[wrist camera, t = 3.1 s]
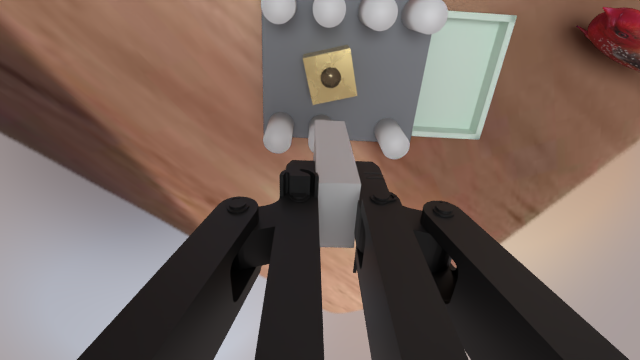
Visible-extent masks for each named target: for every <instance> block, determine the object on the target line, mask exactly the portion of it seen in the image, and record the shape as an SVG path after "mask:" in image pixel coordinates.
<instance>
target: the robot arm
mask: <svg viewBox="0 0 640 360" xmlns="http://www.w3.org/2000/svg"><path fill="white" fill-rule="evenodd" d="M355 240H356V252H355V261H354V269H353V273H356V270H357V272H358V278H359V285H360V291H361V297H362V303H363V309H364V315H365V321H366V327H367V333H368V340H369V346H370V352H371V358H372V360H468V357H467V355H466V353H467V354H468V356H469V357H470V359H471V360H629V359H628V358H627V357H626V356H624V355H623V354H622V353H621V352H620V351H619V350H618V349H617V348H615V347H614V346H613V345H612V344H611V343H610V342H609V341H608V340H607V339H605V338H604V337H603V336H602V335H601V334H600V333H599V332H598V331H596V330H595V329H594V328H593V327H592V326H591V325H590V324H589V323H587V322H586V321H585V320H584V319H583V318H582V317H581V316H580V315H579V314H577V313H576V312H575V311H574V310H573V309H572V308H571V307H570V306H568V305H567V304H566V303H565V302H564V301H563V300H562V299H561V298H559V297H558V296H557V295H556V294H555V293H554V292H553V291H552V290H550V289H549V288H548V287H547V286H546V285H545V284H544V283H543V282H542V281H540V280H539V279H538V278H537V277H536V276H535V275H534V274H532V273H531V272H530V271H529V270H528V269H527V268H526V267H525V266H524V265H523V264H521V263H520V262H519V261H518V260H517V259H516V258H514V256H512V255H511V254H510V253H509V252H508V251H507V250H506V249H504V248H503V247H502V246H501V245H500V244H499V243H498V242H497V241H496V240H494V239H493V238H492V237H491V236H490V235H489V234H488V233H487V232H486V231H484V230H483V229H482V228H481V227H480V226H479V225H478V224H477V223H475V222H474V221H473V220H472V219H471V218H470V217H469V216H468V215H466V214H465V213H464V212H463V211H462V210H461V209H459V208H458V207H456V206H455V205H453V204H450V203H448V202H445V201H444V202H443V201H431V202H427V203H426V204H425V205H424V206H423V210H422V211H421V210H416V209H411V208H407V207H404V206H402V204H401V202H400V199H399V198H398V197H397V196H396V195H395V194H393V193H391V192H389V190H388V188H387V185H386V183H385V180H384V178H383V175H382V173H381V170H380V168H379V167H378V166H377V165H376V164H375V163H373V162H362V161H355V159H354V155H353V152H352V148H351V144H350V140H349V136H348V133H347V129H346V125H345V121H327V120H315V131H314V157H313V161H302V160H292V161H291V162H290V163H289V164H288V165H287V167H286V170H284V171H282V172H281V174H280V199H279V200H278V201H277V202H275V203H273V204H270V205H266V206H261V207H258V204H257V202H256V201H255V200H253V199H251V198H247V197H232V198H229V199H226V200H224V201H222V202H221V203H220V204H219V205H218V206H217V207H216V208H215V209H214V210H213V211H212V212H211V213H210V214H209V216H208V217H207V218H206V219H205V220H204V221H203V222H202V223H201V224H200V225H199V226H198V228H197V229H196V230H195V231H194V232H193V233H192V234H191V235H190V236H189V237H188V239H187V240H186V241H185V242H184V243H183V244H182V245H181V246H180V247H179V248H178V250H177V251H176V252H175V253H174V254H173V255H172V256H171V257H170V258H169V259H168V260H167V262H166V263H165V264H164V265H163V266H162V267H161V268H160V269H159V270H158V271H157V272H156V274H155V275H154V276H153V277H152V278H151V279H150V280H149V281H148V282H147V283H146V284H145V286H144V287H143V288H142V289H141V290H140V291H139V292H138V293H137V294H136V296H135V297H134V298H133V299H132V300H131V301H130V302H129V303H128V304H127V305H126V306H125V308H124V309H123V310H122V311H121V312H120V313H119V314H118V316H116V317H115V318H114V320H113V321H112V322H111V323H110V324H109V325H108V326H107V327H106V328H105V329H104V330H103V332H102V333H101V334H100V335H99V336H98V337H97V338H96V339H95V340H94V341H93V343H92V344H91V345H90V346H89V347H88V348H87V349H86V350H85V351H84V352H83V353H82V355H81V356H80V357H79V358H78V359H77V360H213V359H214V358H215V355H216V354H217V352H218V350H219V348H220V346H221V344H222V342H223V341H224V339H225V337H226V335H227V333H228V331H229V329H230V328H231V326H232V324H233V322H234V320H235V318H236V316H237V314H238V312H239V311H240V309H241V307H242V305H243V303H244V301H245V299H246V297H247V295H248V293H249V292H250V290H251V288H252V286H253V284H254V282H255V280H256V279H257V277H258V275H259V273H260V270H261V266H262V265H266V264H269V270H268V277H267V284H266V290H265V296H264V303H263V310H262V315H261V322H260V329H259V335H258V341H257V348H256V354H255V360H324V344H323V319H322V318H323V317H322V290H321V263H320V247H345V248H354V241H355ZM452 259H453V260H454V262H455V263H456V265H457V268H455V267H454V266H453V265H452V264H451V260H452ZM465 351H466V353H465Z"/></svg>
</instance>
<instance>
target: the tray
mask: <svg viewBox="0 0 640 360" xmlns="http://www.w3.org/2000/svg"><path fill="white" fill-rule="evenodd" d="M516 18H517V16H515V15H502V14H489V13H475V12H461V11H448V17H447V21H446V23H445V25H444V26H443V28H442V29H441V30H439V31H438V32H436V33H434V34H432V35H431V40H430V45H429V50H428V55H427V60H426V65H425V70H424V75H423V80H422V85H421V89H420V94H419V99H418V104H417V109H416V114H415V119H414V124H413V129H412V134H411V136H423V137H442V138H460V139H480V136H481V132H482V129H483V126H484V122H485V119H486V116H487V113H488V109H489V106H490V103H491V100H492V96H493V93H494V90H495V86H496V83H497V80H498V77H499V73H500V70H501V67H502V64H503V60H504V57H505V54H506V51H507V47H508V44H509V41H510V37H511V34H512V31H513V28H514V24H515V21H516Z"/></svg>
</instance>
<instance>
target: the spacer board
mask: <svg viewBox="0 0 640 360" xmlns="http://www.w3.org/2000/svg"><path fill="white" fill-rule="evenodd" d="M261 9H262V59H263V119H264V137H263V142H264V145H265V147H266V148H267V149H268V150H269V151H271V152H273V153H283V152H285V151H287V150H288V149H289V147H290V145H291V141H292V137H298V138H308V145H309V148H310V150H311V151H312V152H313V153H314V131H315V120H327V121H345V125H346V129H347V133H348V136H349V140H355V141H375V142H378V143H379V145H380V147H381V149H382V151H383V153H384V155H385V156H386V157H388V158H390V159H399V158H401V157H403V156H404V155H405V154H406V153H407V152H408V150H409V146H410V144H409V143H410V139H411V134H412V129H413V124H414V119H415V114H416V109H417V104H418V99H419V94H420V89H421V85H422V80H423V75H424V70H425V65H426V60H427V55H428V50H429V45H430V40H431V35H432V34H434V33H436V32H438V31H439V30H441V29H442V28H443V26H444V25H445V23H446V21H447V17H448V10H447V6H446V4H445V3H444V2H443V1H442V0H261ZM344 45H348V46H349V47H350V50H351V56H352V63H353V70H354V76H355V83H356V90H357V96H355V97H350V98H345V99H340V100H335V101H330V102H325V103H320V104H315V105H313V104H312V99H311V95H310V90H309V85H308V81H307V76H306V72H305V67H304V62H303V54H307V53H311V52H316V51H320V50H325V49H330V48H334V47H339V46H344Z"/></svg>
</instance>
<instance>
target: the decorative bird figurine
mask: <svg viewBox="0 0 640 360" xmlns="http://www.w3.org/2000/svg"><path fill="white" fill-rule="evenodd" d="M603 9H604V11H605V12H604V13H601V14H599V15H598V16H596V17H595V18H594V19H593V20H592V21H591V23H590V24H589V26H588V31H586V30H584V29H583V28H581V27H579V26H577V27H578V28H579V29H580V30H581V31H582V32H583V33H584V34H585V37H587V38H588V39H589V40H591V42H592V43H593V45H594V46H595V47H596V48H597V49H598V50H600V51H601V52H602V53H603V54H605V55H606V56H607V57H609V58H610V59H612V60H614V61H616V62H618V63H620V64H622V65H624V66H626V67H629V68H631V69H634V70H636V71H639V72H640V11H639V10H636V9H632V8H608V7H603Z"/></svg>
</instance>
